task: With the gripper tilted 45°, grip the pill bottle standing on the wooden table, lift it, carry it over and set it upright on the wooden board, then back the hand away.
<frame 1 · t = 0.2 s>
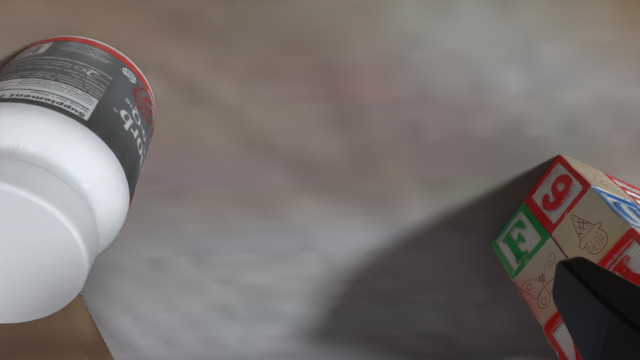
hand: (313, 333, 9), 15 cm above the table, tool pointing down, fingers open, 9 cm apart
pill bottle: (86, 98, 22), on the table
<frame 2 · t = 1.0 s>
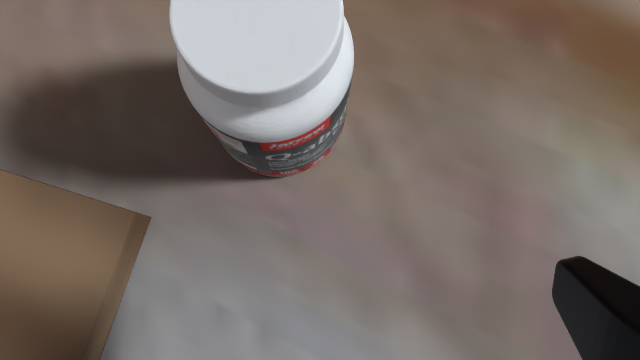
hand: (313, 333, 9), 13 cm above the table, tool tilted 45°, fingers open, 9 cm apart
pill bottle: (281, 117, 24), on the table
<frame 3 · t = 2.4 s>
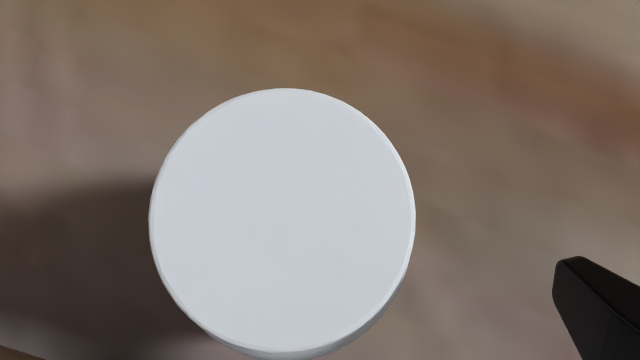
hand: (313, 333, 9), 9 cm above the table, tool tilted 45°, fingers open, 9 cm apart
pill bottle: (296, 250, 19), on the table
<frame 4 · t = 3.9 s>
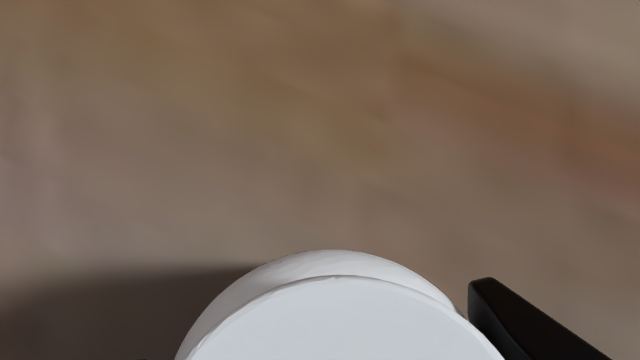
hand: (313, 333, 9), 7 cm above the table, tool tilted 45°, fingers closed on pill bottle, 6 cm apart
pill bottle: (323, 358, 16), on the table, touching gripper
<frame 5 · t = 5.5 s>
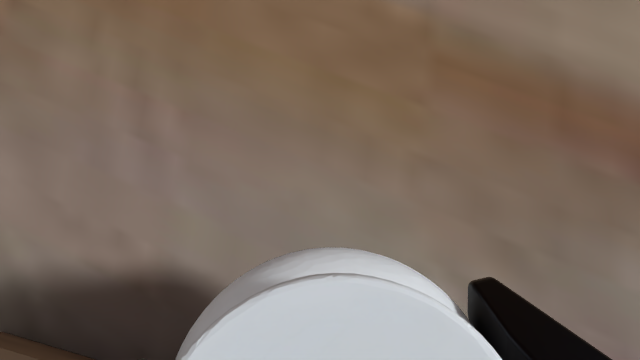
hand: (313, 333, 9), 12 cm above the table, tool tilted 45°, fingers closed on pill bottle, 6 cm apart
pill bottle: (327, 355, 16), point 5 cm above the table, touching gripper
when the fingers open (10 cm above the table, at t = 7.2 s): pill bottle stays where it is, resting on wooden board.
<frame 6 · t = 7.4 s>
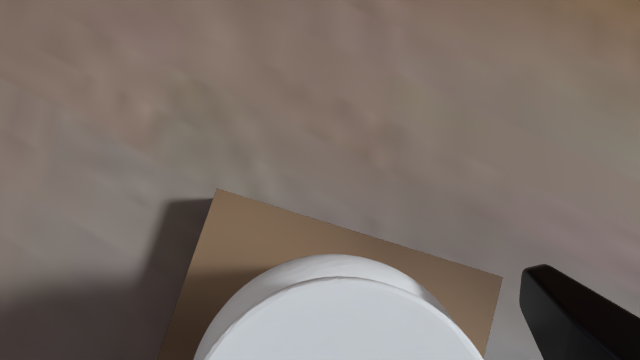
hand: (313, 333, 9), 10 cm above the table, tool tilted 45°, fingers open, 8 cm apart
pill bottle: (325, 352, 17), point 2 cm above the table, touching wooden board
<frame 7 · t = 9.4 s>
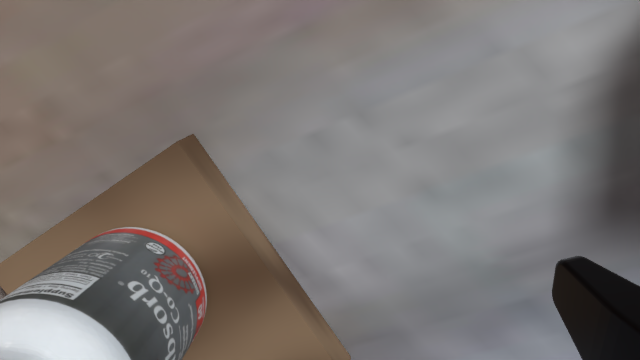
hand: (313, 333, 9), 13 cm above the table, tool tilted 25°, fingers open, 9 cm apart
wooden board: (184, 305, 24), on the table
pill bottle: (144, 287, 22), point 2 cm above the table, touching wooden board
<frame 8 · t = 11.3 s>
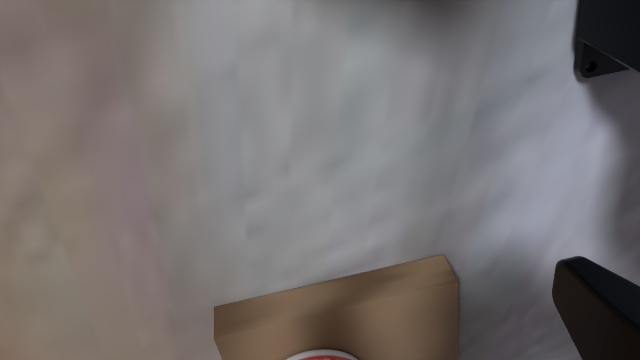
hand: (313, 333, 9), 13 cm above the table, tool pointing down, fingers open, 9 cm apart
wooden board: (342, 342, 30), on the table
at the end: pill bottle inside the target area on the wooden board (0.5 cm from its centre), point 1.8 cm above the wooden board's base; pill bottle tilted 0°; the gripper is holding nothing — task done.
